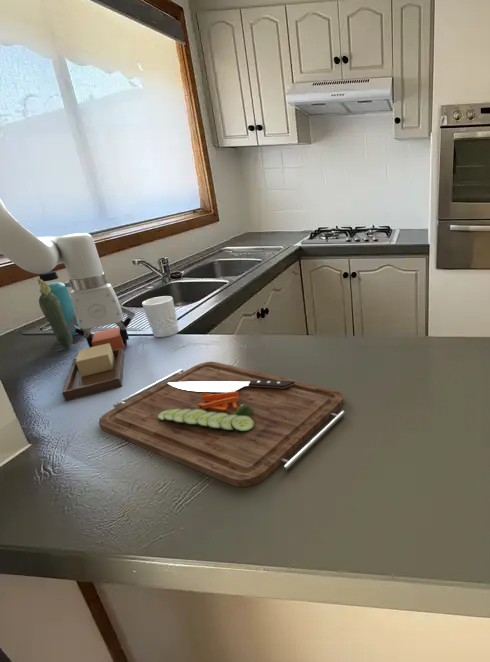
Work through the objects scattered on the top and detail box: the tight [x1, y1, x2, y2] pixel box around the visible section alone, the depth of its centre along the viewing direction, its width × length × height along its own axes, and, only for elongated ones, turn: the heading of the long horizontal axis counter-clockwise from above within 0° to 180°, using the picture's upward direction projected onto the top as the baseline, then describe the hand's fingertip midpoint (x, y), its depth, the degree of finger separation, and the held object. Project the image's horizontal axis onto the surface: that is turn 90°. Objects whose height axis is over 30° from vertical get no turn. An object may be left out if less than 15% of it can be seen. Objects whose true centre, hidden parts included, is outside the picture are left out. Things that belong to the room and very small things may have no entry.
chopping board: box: [98, 361, 346, 488], centre depth 80 cm, size 45×27×3 cm, turn 61°
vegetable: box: [37, 278, 74, 350], centre depth 113 cm, size 4×4×20 cm
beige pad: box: [75, 343, 114, 377], centre depth 102 cm, size 6×8×4 cm
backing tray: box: [61, 348, 125, 402], centre depth 99 cm, size 11×20×2 cm, turn 28°
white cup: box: [141, 295, 180, 338], centre depth 121 cm, size 8×8×10 cm
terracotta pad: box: [92, 327, 126, 351], centre depth 114 cm, size 6×8×4 cm
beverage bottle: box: [38, 270, 80, 336], centre depth 121 cm, size 6×7×20 cm
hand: (110, 345), depth 115 cm, fingers closed on terracotta pad, 6 cm apart
